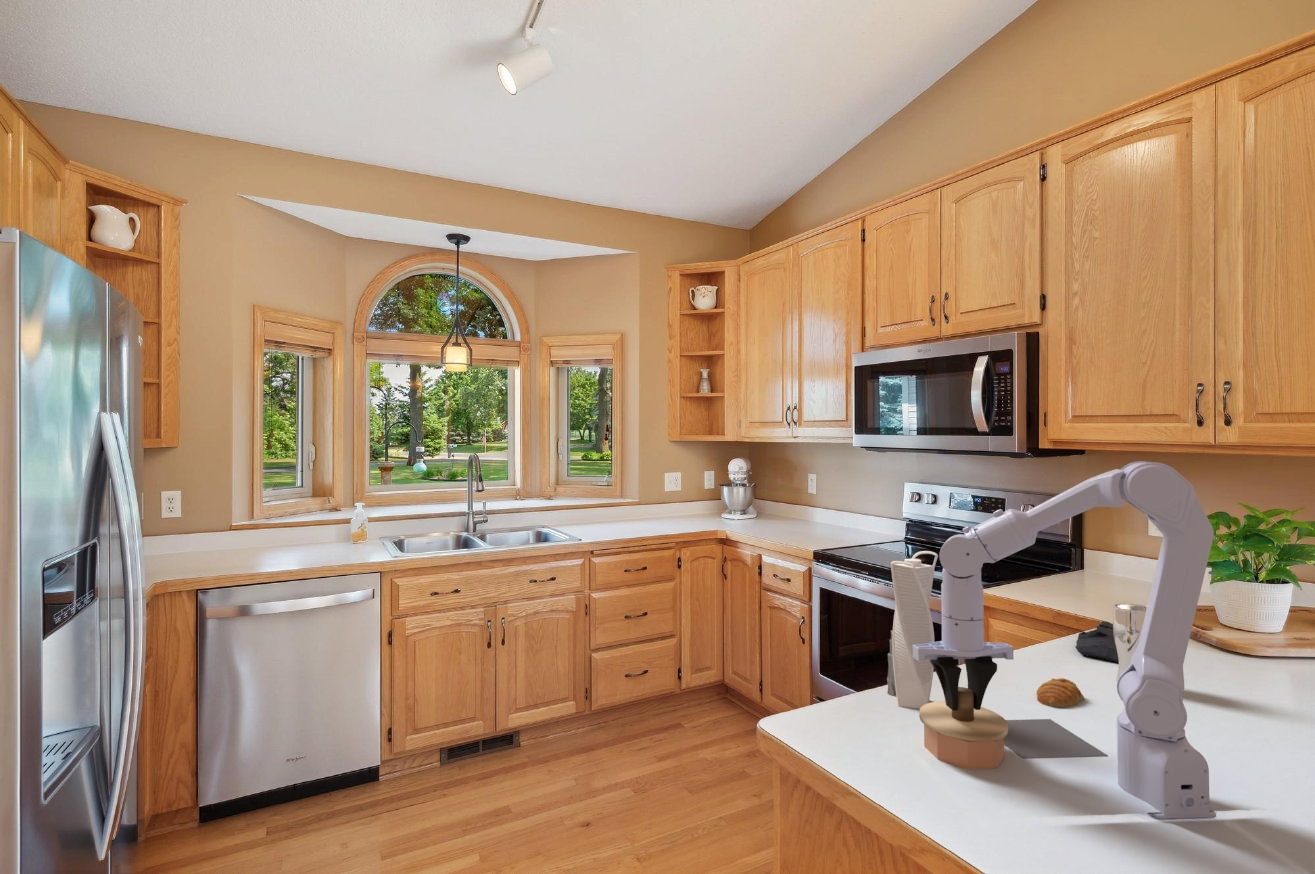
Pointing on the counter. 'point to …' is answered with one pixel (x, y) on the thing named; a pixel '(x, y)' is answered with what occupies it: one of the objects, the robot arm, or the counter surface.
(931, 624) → the skyscraper
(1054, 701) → the pastry
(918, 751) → the counter surface
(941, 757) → the bowl
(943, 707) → the lid
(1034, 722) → the mat
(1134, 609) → the beer glass
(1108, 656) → the dark slate chunk
